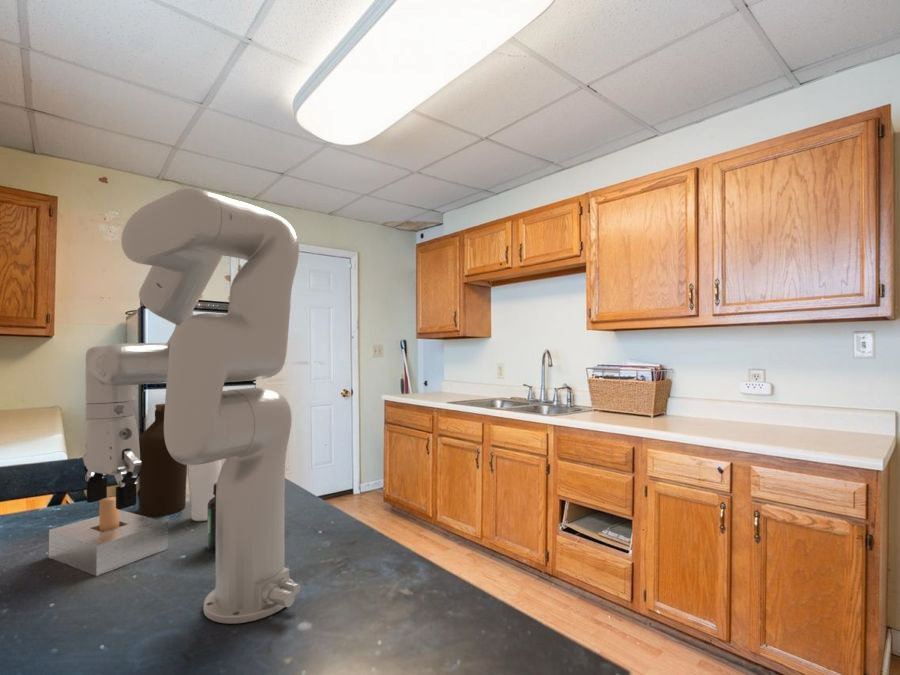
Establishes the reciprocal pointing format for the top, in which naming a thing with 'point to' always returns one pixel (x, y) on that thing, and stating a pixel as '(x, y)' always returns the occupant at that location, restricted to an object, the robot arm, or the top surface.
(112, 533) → the hole block
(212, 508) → the supplement bottle
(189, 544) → the top surface
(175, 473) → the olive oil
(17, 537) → the top surface
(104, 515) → the peg
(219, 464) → the drinking glass
